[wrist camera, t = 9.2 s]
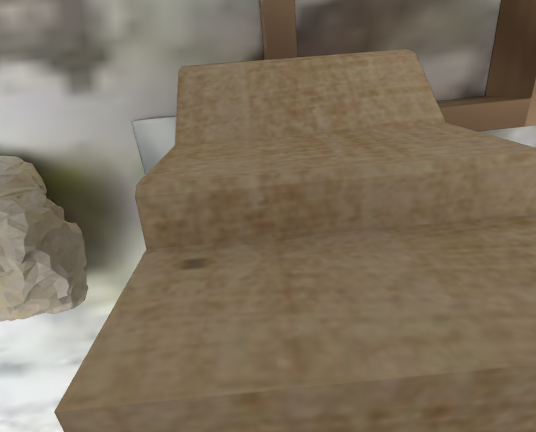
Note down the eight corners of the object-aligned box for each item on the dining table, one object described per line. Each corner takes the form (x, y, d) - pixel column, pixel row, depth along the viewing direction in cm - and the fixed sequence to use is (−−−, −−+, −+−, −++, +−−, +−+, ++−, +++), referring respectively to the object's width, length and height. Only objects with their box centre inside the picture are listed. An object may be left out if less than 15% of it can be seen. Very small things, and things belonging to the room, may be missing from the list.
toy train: (364, 56, 10) (1190, -101, 1) (347, 393, 17) (454, 742, 8) (200, 69, 10) (-190, -1, 1) (249, 403, 17) (248, 766, 8)
